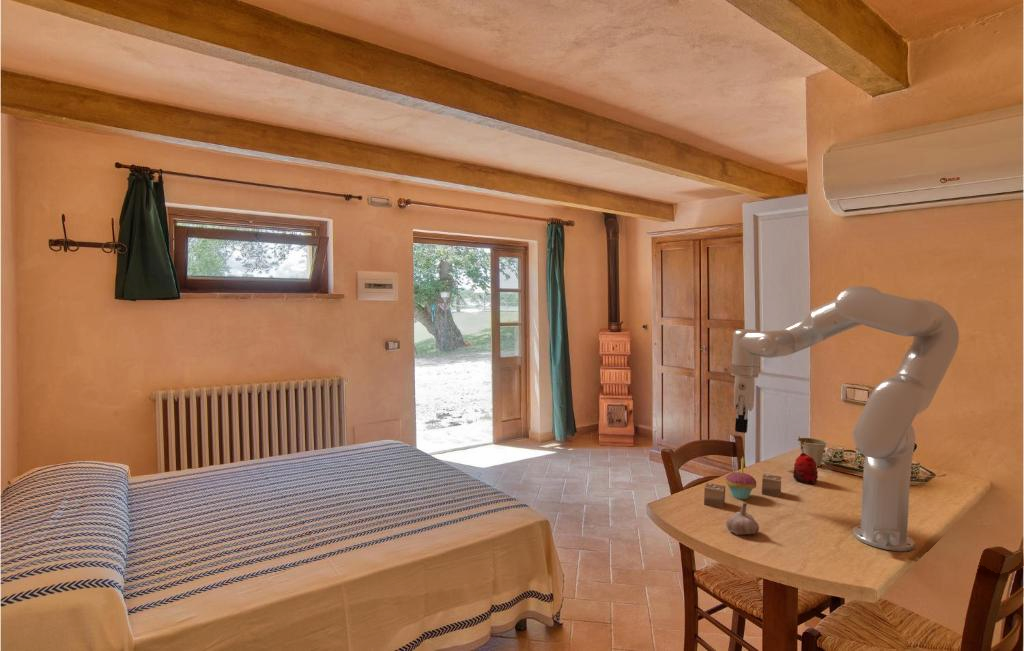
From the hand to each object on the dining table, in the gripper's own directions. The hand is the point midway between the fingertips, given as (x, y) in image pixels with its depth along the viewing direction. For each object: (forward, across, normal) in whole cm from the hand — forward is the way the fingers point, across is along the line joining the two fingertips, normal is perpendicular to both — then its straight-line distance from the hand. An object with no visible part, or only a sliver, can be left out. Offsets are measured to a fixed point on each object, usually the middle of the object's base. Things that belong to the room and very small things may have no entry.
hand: (741, 431), depth 162 cm
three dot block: (+20, -10, +5) cm, 23 cm away
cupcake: (+20, 0, -1) cm, 20 cm away
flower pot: (+20, +48, -20) cm, 55 cm away
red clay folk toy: (+20, +26, -18) cm, 37 cm away
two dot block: (+20, +8, -9) cm, 23 cm away
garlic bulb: (+20, -27, -4) cm, 34 cm away
